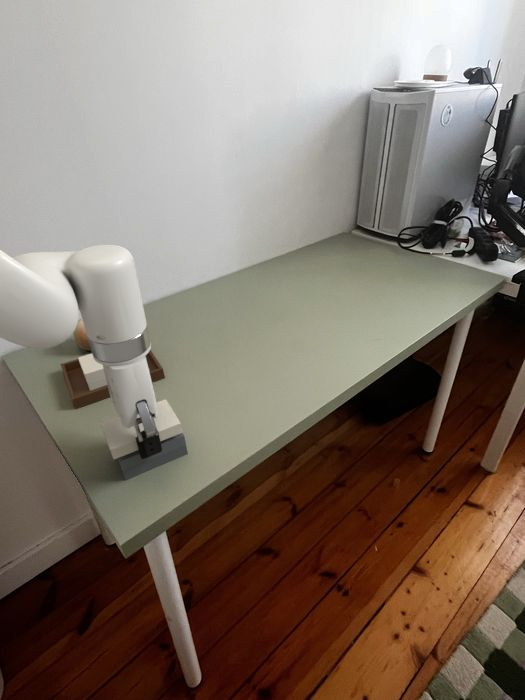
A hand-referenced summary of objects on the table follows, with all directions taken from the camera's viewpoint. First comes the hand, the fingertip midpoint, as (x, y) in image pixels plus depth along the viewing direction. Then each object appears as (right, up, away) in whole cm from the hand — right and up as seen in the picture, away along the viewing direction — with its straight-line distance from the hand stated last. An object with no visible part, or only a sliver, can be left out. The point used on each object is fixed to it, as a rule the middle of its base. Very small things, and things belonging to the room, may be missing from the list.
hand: (144, 438), depth 67 cm
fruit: (-19, +14, +30) cm, 39 cm away
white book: (0, +1, -1) cm, 1 cm away
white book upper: (-12, +11, +19) cm, 25 cm away
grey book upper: (+1, -1, +1) cm, 2 cm away
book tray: (-12, +8, +21) cm, 25 cm away
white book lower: (-12, +9, +20) cm, 25 cm away
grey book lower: (+1, -3, +2) cm, 4 cm away
